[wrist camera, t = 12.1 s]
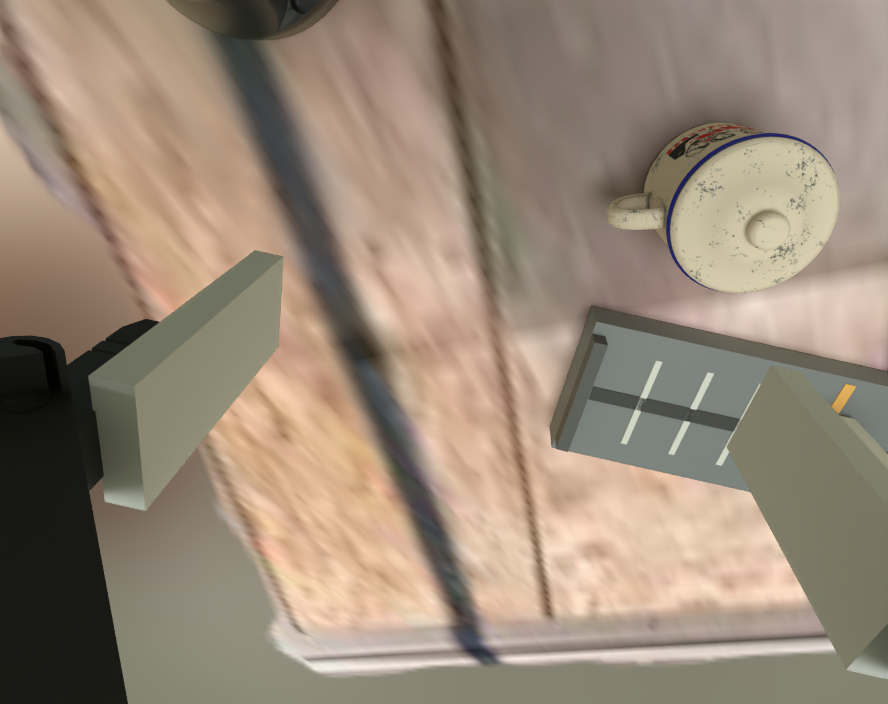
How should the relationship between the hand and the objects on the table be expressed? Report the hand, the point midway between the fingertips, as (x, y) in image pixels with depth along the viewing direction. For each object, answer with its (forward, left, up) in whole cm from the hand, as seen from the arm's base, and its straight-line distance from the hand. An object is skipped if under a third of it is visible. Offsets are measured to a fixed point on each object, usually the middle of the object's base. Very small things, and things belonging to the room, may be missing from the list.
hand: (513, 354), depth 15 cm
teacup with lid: (-1, +12, -29) cm, 31 cm away
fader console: (+15, +22, -29) cm, 39 cm away
